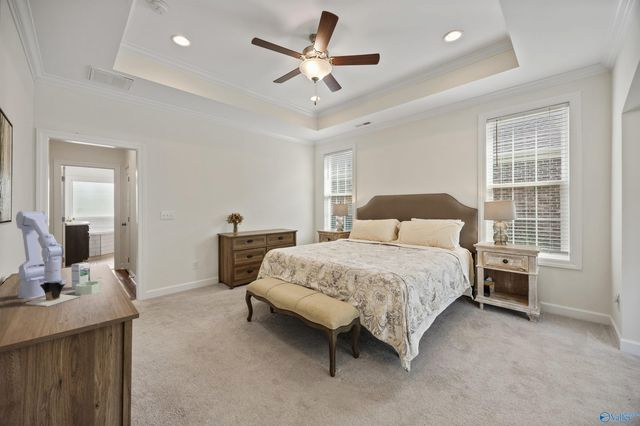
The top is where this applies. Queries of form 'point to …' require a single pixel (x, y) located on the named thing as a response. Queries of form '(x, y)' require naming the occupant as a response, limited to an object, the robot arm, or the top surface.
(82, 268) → the syrup box
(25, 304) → the charcoal mat
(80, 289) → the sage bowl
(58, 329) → the top surface
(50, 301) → the cover sheet
